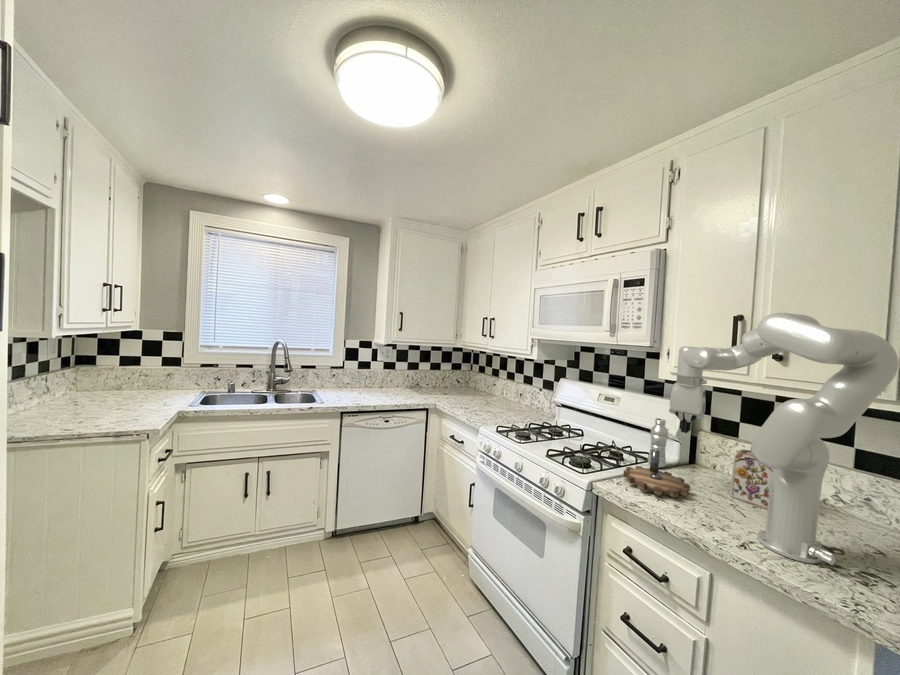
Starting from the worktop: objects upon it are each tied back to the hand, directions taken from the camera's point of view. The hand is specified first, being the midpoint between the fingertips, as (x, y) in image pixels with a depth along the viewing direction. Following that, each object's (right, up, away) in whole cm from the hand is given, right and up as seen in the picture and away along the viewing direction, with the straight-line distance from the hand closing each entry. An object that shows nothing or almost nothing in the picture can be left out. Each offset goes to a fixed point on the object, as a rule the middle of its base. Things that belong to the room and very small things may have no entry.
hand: (684, 431), depth 127 cm
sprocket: (-10, -19, +1) cm, 21 cm away
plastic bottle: (+3, -21, +23) cm, 31 cm away
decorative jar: (+22, -23, -4) cm, 32 cm away
